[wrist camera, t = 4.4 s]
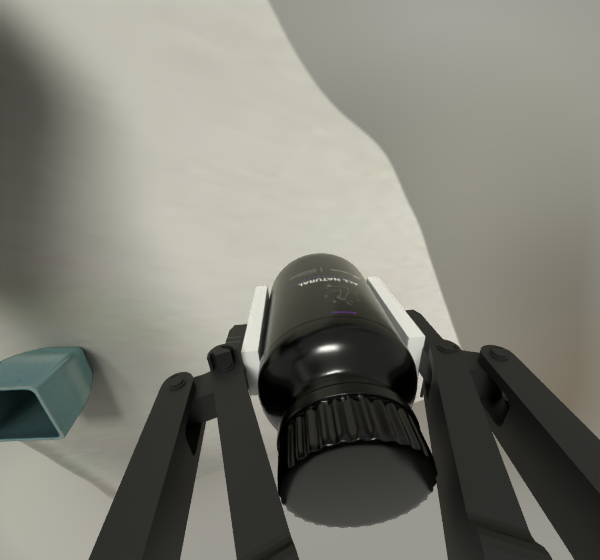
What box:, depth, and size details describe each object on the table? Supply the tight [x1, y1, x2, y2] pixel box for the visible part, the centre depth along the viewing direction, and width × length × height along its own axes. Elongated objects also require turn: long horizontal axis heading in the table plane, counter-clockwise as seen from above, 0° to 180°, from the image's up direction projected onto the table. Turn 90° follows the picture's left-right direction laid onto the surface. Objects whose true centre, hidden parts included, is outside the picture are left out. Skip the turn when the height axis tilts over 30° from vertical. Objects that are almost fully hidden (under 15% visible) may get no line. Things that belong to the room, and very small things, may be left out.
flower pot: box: [0, 347, 93, 442], centre depth 33 cm, size 9×9×9 cm
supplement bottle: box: [258, 253, 438, 528], centre depth 13 cm, size 7×7×12 cm
